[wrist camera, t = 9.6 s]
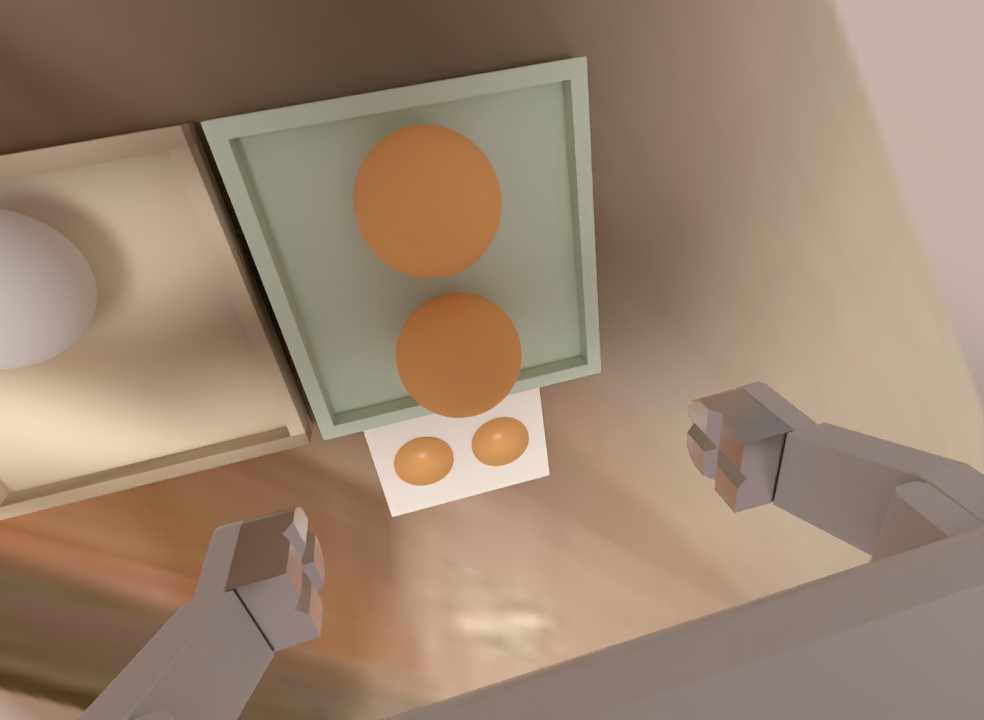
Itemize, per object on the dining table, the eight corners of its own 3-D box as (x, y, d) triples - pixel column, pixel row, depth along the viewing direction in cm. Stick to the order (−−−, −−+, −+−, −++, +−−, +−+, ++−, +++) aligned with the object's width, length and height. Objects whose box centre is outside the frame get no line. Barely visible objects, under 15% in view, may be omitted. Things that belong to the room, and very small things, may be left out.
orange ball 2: (379, 289, 17) (385, 341, 14) (496, 264, 18) (530, 307, 14) (406, 391, 19) (417, 457, 16) (511, 365, 20) (544, 424, 16)
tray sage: (211, 119, 14) (200, 122, 13) (571, 57, 16) (586, 56, 15) (325, 421, 20) (323, 440, 19) (589, 357, 21) (601, 372, 20)
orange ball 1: (337, 132, 15) (330, 149, 11) (474, 108, 15) (506, 117, 12) (373, 265, 17) (376, 314, 13) (493, 240, 17) (526, 281, 14)
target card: (360, 418, 20) (360, 424, 20) (536, 376, 21) (539, 381, 20) (392, 511, 22) (392, 518, 22) (547, 470, 23) (550, 476, 23)
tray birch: (-238, 195, 13) (-289, 205, 12) (193, 122, 14) (180, 125, 13) (12, 497, 18) (-9, 522, 17) (312, 424, 20) (309, 444, 19)
